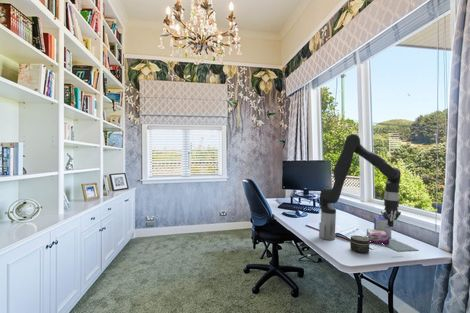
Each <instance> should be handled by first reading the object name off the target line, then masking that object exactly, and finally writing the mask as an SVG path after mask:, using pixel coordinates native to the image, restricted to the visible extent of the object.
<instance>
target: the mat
mask: <svg viewBox="0 0 470 313" xmlns="http://www.w3.org/2000/svg"><path fill="white" fill-rule="evenodd" d="M384 245H385V246H384ZM384 245H383V246H384V247H386V248H389V249H391V250H393V251H396V252H398V253H399V252H419V249H417V248H415V247H413V246H410V245H408V244H406V243H403V242H401V241H399V240H396V239H394V238H393V239H392V238H389V244H384Z"/></svg>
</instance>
